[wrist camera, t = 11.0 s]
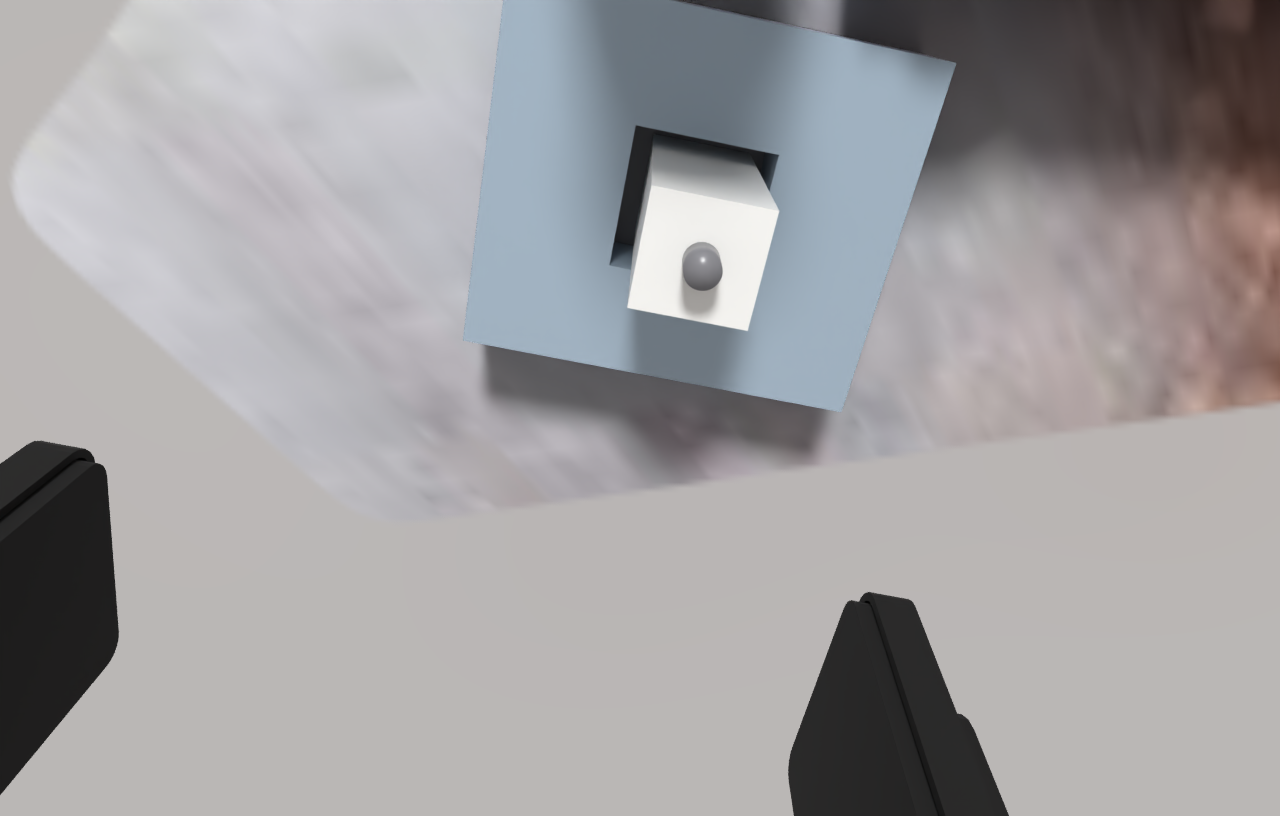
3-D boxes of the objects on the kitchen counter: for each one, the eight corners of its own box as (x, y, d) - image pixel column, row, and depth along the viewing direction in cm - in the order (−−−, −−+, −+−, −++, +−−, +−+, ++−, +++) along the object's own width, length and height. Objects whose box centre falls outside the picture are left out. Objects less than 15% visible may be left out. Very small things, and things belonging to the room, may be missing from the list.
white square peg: (749, 153, 36) (784, 220, 26) (726, 247, 38) (751, 344, 28) (653, 134, 36) (650, 193, 26) (635, 229, 38) (625, 320, 28)
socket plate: (922, 53, 35) (956, 62, 31) (823, 369, 41) (841, 412, 37) (525, -34, 34) (507, -35, 30) (482, 304, 40) (463, 340, 36)
